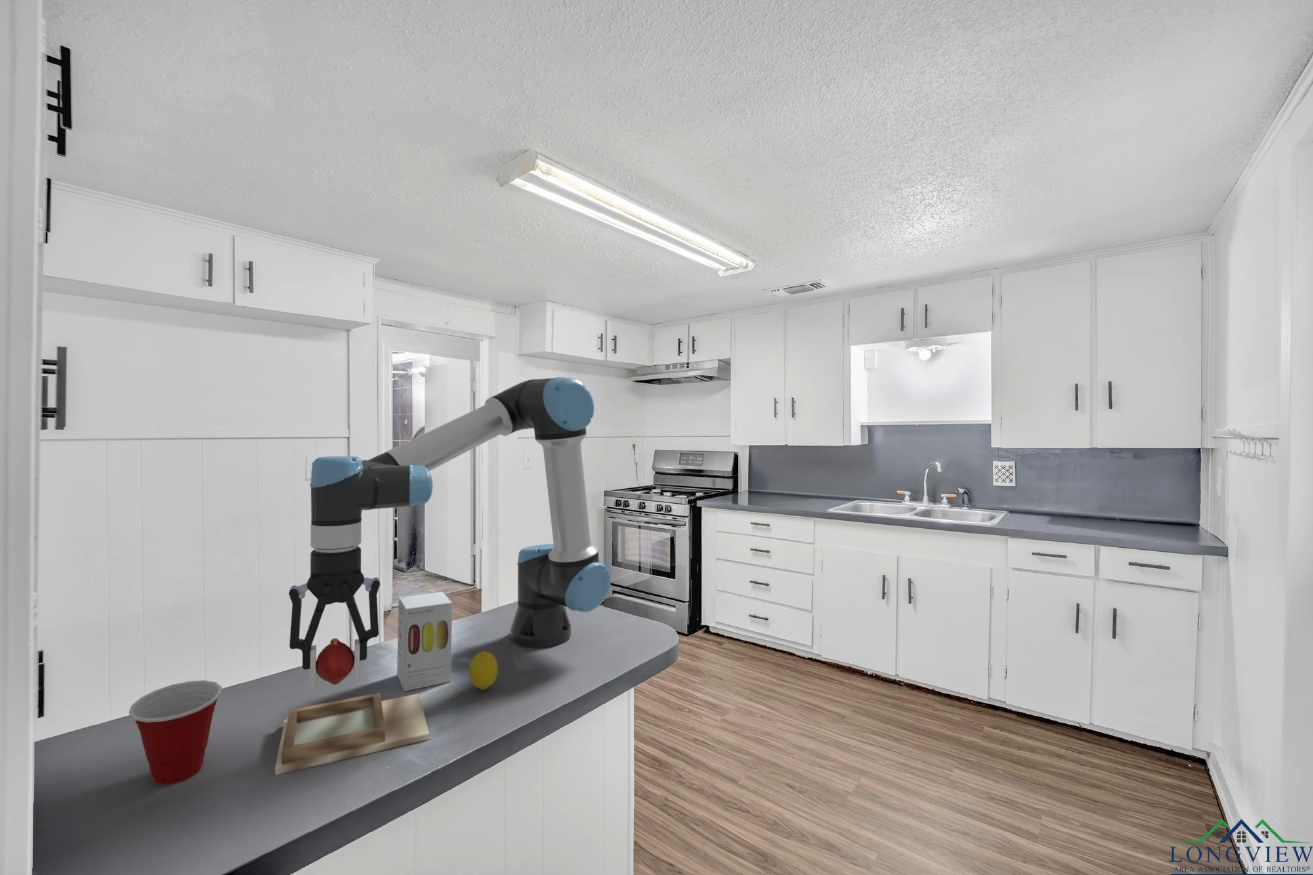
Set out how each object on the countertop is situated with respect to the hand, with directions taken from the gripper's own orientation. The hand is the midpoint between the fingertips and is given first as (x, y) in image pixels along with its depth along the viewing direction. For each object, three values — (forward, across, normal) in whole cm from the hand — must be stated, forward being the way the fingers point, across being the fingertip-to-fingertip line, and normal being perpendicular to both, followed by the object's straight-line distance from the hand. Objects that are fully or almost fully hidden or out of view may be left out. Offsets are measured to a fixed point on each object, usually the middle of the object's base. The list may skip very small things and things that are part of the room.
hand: (335, 682), depth 98 cm
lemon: (+9, -26, -6) cm, 28 cm away
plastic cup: (+10, +21, +1) cm, 23 cm away
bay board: (+9, -3, 0) cm, 10 cm away
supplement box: (+10, -16, -17) cm, 25 cm away
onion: (0, 0, 0) cm, 0 cm away
